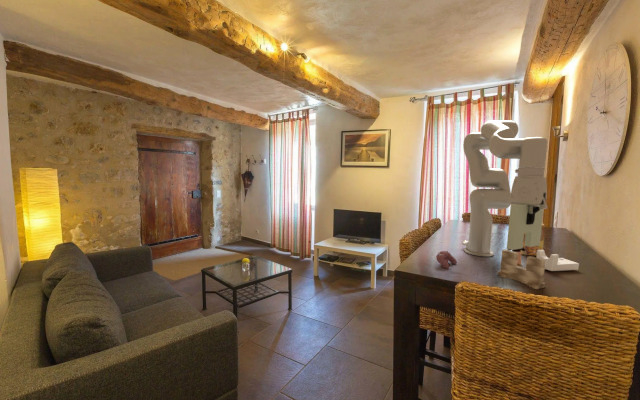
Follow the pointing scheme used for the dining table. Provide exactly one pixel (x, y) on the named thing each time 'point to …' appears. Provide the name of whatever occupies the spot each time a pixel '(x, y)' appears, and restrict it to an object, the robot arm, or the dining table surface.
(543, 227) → the candy box
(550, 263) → the bracket
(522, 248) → the grandmother figurine
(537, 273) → the birch stand
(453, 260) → the video game controller
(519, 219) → the sage plate
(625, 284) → the dining table surface
